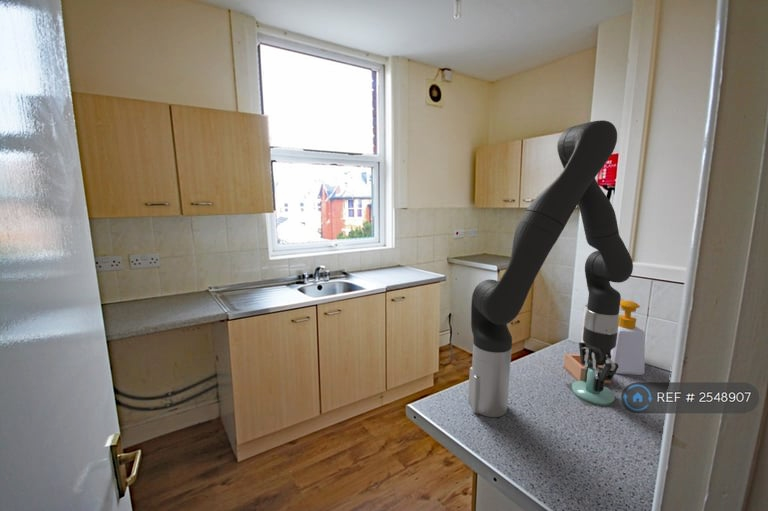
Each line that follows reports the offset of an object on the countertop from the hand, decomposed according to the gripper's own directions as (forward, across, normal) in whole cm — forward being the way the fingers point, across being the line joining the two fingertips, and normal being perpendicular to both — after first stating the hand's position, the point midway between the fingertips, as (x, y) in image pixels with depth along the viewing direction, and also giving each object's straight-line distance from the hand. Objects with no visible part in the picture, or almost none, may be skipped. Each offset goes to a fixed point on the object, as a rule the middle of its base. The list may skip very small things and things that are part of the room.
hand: (593, 386), depth 92 cm
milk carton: (+3, -27, +17) cm, 32 cm away
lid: (+2, 0, 0) cm, 2 cm away
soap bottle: (+3, -17, +18) cm, 25 cm away
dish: (+3, -10, +4) cm, 11 cm away
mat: (+3, 0, 0) cm, 3 cm away
